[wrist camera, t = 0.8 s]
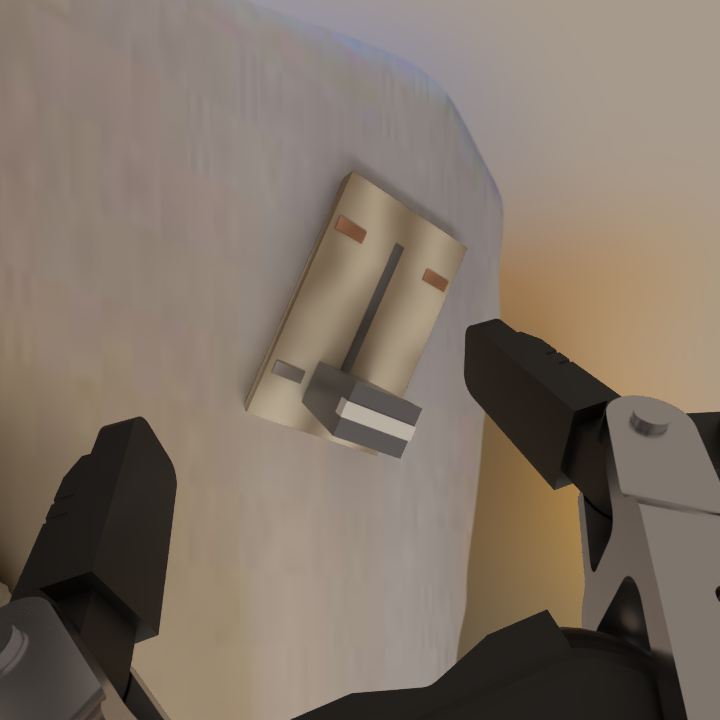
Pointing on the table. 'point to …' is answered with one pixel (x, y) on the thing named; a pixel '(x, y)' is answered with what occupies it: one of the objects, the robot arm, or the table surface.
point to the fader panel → (358, 304)
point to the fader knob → (360, 410)
